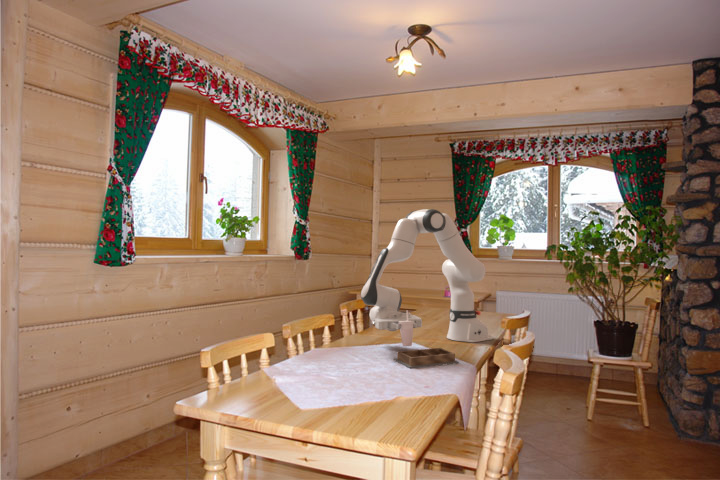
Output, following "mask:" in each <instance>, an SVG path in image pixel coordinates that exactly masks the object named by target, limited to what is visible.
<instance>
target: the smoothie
mask: <svg viewBox="0 0 720 480" xmlns="http://www.w3.org/2000/svg"><path fill="white" fill-rule="evenodd" d="M406 312H407V321H399V324H400V325H401V329H399V331H400V337H401V338H400V339H401V343H402V344H401V345H402V346H403V347H412V345H413V334H414V328H413V324H414V321H408V312H409V310H407V309H406Z"/></svg>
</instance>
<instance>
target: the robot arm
mask: <svg viewBox="0 0 720 480" xmlns="http://www.w3.org/2000/svg"><path fill="white" fill-rule="evenodd" d="M429 233H431V234H432V233H433V235H434V238H435V239H436V242H437V243H438V246H439V248H440V250H441V252H442V254H443V256H444V257H446V258H447V259H445V260H444V262H443V263H442V265H441V271H442V274H443V275H444V277H445V278H446V281H447V283H448V287H449V291H450V292H449V293H450V308H449V327H448V331H447V334H446V338H447V339H448V340H452V341H457V342H466V343H467V342H468V343H479V342H483V341H489V340H493V339H494V338H493V336H492V335H489V330H488V327H487V325H486V324H485V323H484V322H483V321H481V320H480V319H479V318H478V316H481V314H482V311H481V310H475V293H474V292H473V290H472V289H471V287H470V285H469V284H470V283H475V282H480V281H482V280H483V279H484V278H485V276H486V273H487V272H486V266H485V265H484V264H485V263H483V262H481V261H480V260H478V258H476V256H474V254H473V253H472V252H471V251H470V250H469V249H468V247H467V246H466V244H465V242H464V240H463V239H462V237H461V234H460V231H459V230H458V228H457V226H456V224H455V222H454V220H453V219H452V218H451V216H450V215H449V214H448V213H444V212H441V211H439V210H438V209H434V208H431V209H430V208H429V209H426V208H423V209H418V210H413V211H410V212H409V213H407V215H406V216H405V217H404V218H400V219H399V220H398V221H397V223H396V225H395V227H394V230H393V232H392V235H391V238H390V239H391V240H390V242H389V244H388V246H386V248H382V250H381V251H380V252H379V253H378V256H377V257H376V259H375V261H374V264H373V266H372V269H371V271H370V274H369V276H368V278H367V279H366V281H365V283H364V284H363V287H362V289H361V292H360V298H361V300H362V301H363V303H364V304H365V305H366V306H367V305H368V306H372V308H370V310H369V318H370V321H371V322H370V323H371V324H372V325H374V328H376V329H377V330H381V331H383V330H387V331H389V332H396V331H398V330H399V331H400V329H401V325H400V324H399V321H407V311H400V309H401V306H402V303H403V302H402V301H403V298H402V294H401V292H400V290H398V288H393V287H390V286H386V285H382V284H379V282H380V279H381V278H382V275H383V272H384V270H385V269H386V267H387V266H388V265H389V264H392V263H400V262H404V261H407V260H408V259H410V258H411V257H412V255H413V253H414V250H415V245H416V242H417V237H418V235H420V234H429ZM408 321H414V324H413V329H417V328H422V326H423V319H422V318H421V317H420V316H418V315H414V314H411V312H409V311H408Z"/></svg>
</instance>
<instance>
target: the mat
mask: <svg viewBox="0 0 720 480" xmlns="http://www.w3.org/2000/svg"><path fill="white" fill-rule="evenodd" d="M393 361H395V362H397V363H399V364H400V365H402V366H405V367H406V368H408V369H416V368H417V369H418V368H425V367H427V368H428V367H434V366H435V367H436V365H438V366H444V365H443V364H447V365H454V364H453V363H456V364H460V362H459V361H458V360H455V361H454V362H444V363H435V364H425V365H415V366H410V365H408V364H406V363H404V362H402V361H400V360H398V359H397V357H396V358H395V357H394V358H393Z"/></svg>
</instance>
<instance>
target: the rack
mask: <svg viewBox="0 0 720 480" xmlns="http://www.w3.org/2000/svg"><path fill="white" fill-rule="evenodd" d="M396 354H397V355H396V358H397V359H398V360H400V361H402V362H404V363H406V364H408V365H410V366H415V365H425V364H435V363H444V362H454V361H456V353H455V352H451V351H450V350H447V349H444V348H443V347H442V348H441V347H434V348H433V347H431V348H424V349H422V348H421V349H412V350H402V351H401V350H400V351H397V353H396Z"/></svg>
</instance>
